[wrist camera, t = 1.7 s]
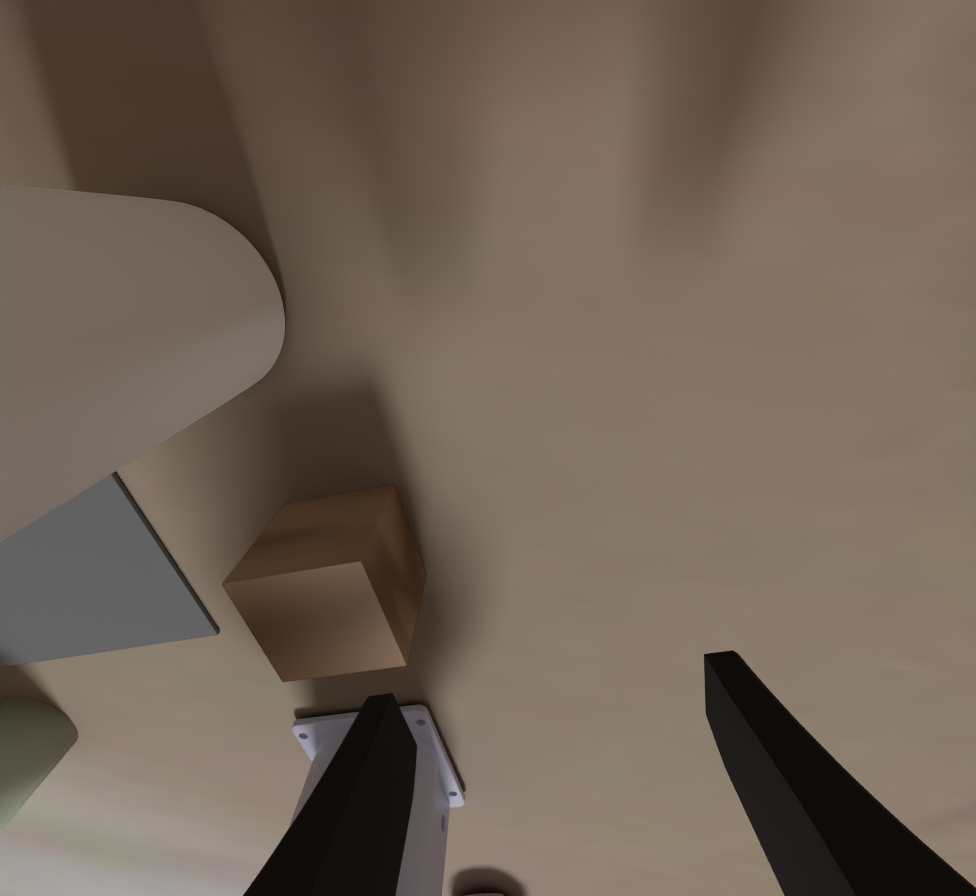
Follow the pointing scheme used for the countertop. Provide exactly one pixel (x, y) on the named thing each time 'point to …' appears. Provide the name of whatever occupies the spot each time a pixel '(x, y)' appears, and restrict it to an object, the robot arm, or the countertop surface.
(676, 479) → the countertop surface
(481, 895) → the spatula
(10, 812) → the sage cylinder
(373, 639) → the walnut block
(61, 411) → the can
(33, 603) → the slate mat
